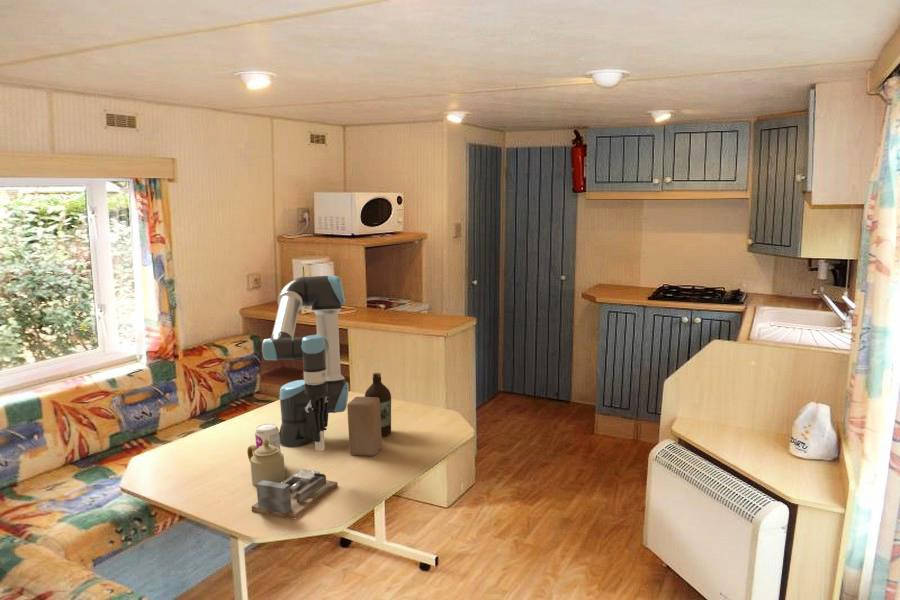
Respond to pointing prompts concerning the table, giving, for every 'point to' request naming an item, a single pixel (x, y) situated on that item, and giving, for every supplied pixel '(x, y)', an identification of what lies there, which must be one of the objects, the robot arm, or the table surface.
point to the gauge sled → (303, 479)
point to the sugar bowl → (266, 463)
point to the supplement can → (267, 435)
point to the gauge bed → (290, 496)
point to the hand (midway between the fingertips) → (320, 449)
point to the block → (364, 426)
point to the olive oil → (381, 402)
